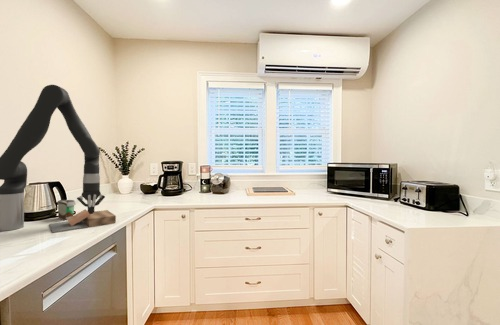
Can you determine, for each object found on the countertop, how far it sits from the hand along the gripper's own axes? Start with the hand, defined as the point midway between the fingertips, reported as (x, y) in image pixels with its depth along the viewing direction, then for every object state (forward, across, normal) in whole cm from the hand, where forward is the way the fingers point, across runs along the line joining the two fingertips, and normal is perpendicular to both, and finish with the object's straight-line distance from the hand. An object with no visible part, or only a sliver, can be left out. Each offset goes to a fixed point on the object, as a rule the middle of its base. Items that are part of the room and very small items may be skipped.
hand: (91, 213), depth 124 cm
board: (+5, +4, 0) cm, 6 cm away
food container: (+5, -7, +19) cm, 21 cm away
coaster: (+2, -5, 0) cm, 5 cm away
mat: (+5, -10, 0) cm, 11 cm away
